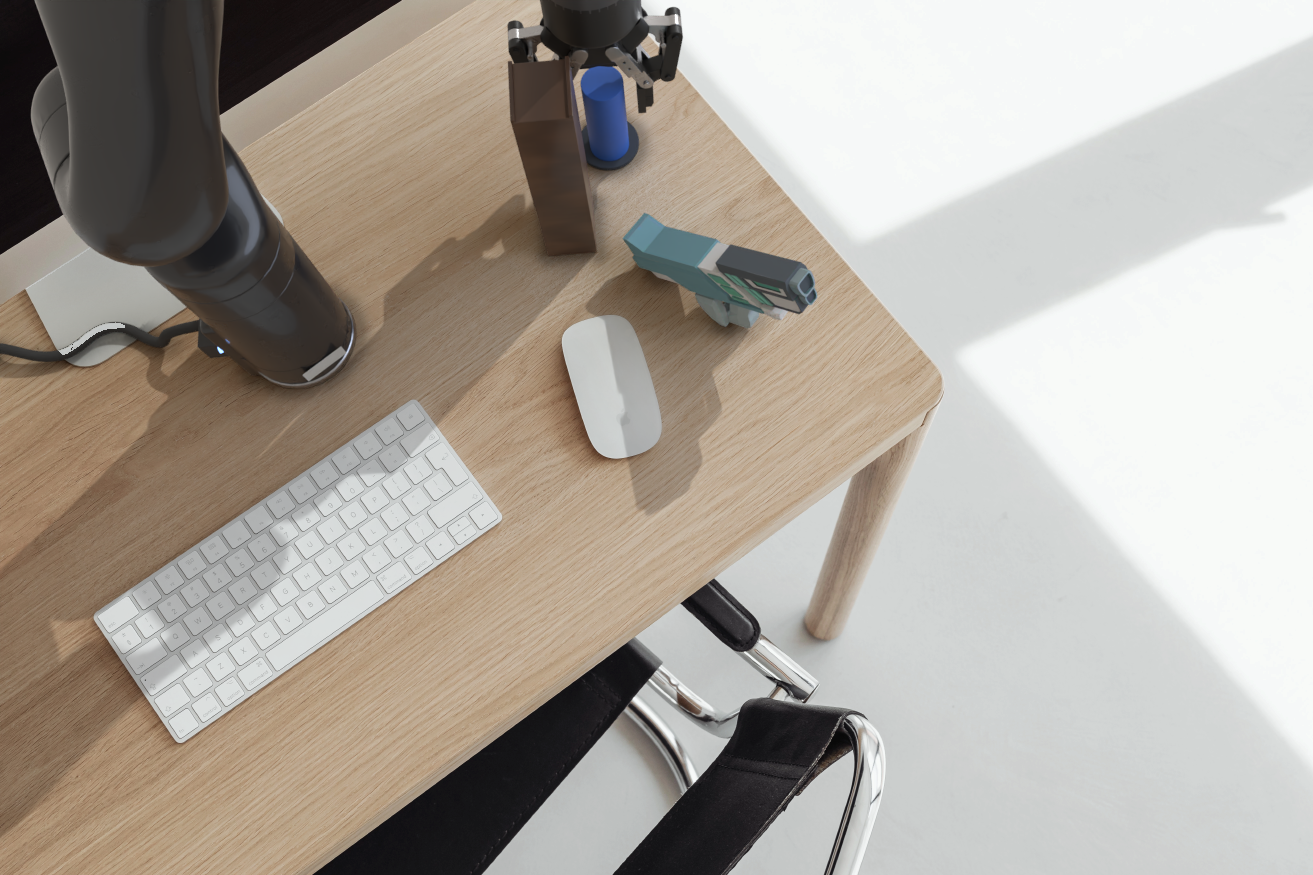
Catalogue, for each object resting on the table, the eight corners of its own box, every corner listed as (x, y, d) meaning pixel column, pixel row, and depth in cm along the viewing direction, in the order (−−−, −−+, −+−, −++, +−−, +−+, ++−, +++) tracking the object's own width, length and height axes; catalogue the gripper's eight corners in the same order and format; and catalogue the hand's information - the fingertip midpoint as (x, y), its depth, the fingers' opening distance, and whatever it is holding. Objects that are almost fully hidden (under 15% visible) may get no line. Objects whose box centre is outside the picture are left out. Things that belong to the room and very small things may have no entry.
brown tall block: (548, 256, 90) (510, 121, 70) (545, 207, 91) (507, 61, 72) (597, 252, 90) (572, 115, 70) (593, 203, 91) (568, 55, 72)
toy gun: (831, 371, 79) (783, 286, 72) (671, 316, 92) (618, 240, 85) (857, 337, 80) (812, 250, 73) (695, 287, 93) (644, 209, 86)
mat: (580, 173, 92) (580, 170, 92) (577, 121, 94) (576, 118, 93) (641, 168, 92) (641, 165, 92) (636, 116, 94) (636, 113, 93)
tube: (579, 66, 84) (581, 102, 83) (622, 63, 84) (624, 99, 83) (589, 129, 93) (590, 163, 92) (628, 126, 93) (630, 160, 92)
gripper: (487, 16, 70) (524, 152, 86) (691, -1, 70) (690, 138, 86) (484, -69, 73) (520, 79, 89) (682, -86, 73) (682, 65, 89)
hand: (604, 107), depth 87 cm, fingers open, 6 cm apart
